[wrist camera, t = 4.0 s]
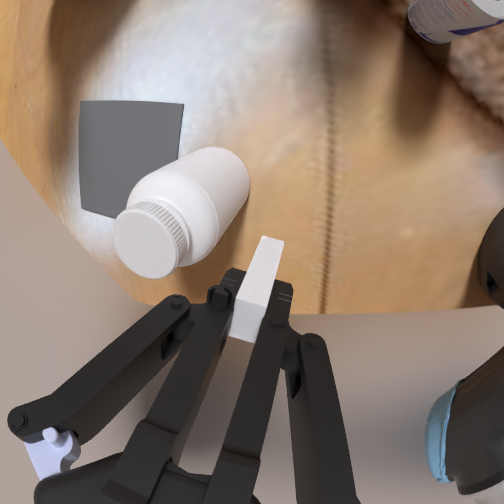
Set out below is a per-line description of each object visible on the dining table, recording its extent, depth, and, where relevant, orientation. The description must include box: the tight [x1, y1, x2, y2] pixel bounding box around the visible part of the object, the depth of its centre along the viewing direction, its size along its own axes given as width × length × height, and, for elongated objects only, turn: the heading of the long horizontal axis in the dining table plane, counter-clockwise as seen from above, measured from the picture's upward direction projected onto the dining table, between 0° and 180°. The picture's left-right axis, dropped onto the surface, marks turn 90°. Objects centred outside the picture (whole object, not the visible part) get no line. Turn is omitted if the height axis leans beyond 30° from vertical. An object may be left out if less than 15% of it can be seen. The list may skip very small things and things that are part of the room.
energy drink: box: [407, 0, 504, 44], centre depth 10 cm, size 5×5×12 cm
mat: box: [79, 101, 184, 218], centre depth 31 cm, size 16×16×1 cm
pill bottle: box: [112, 147, 250, 279], centre depth 24 cm, size 8×8×15 cm
